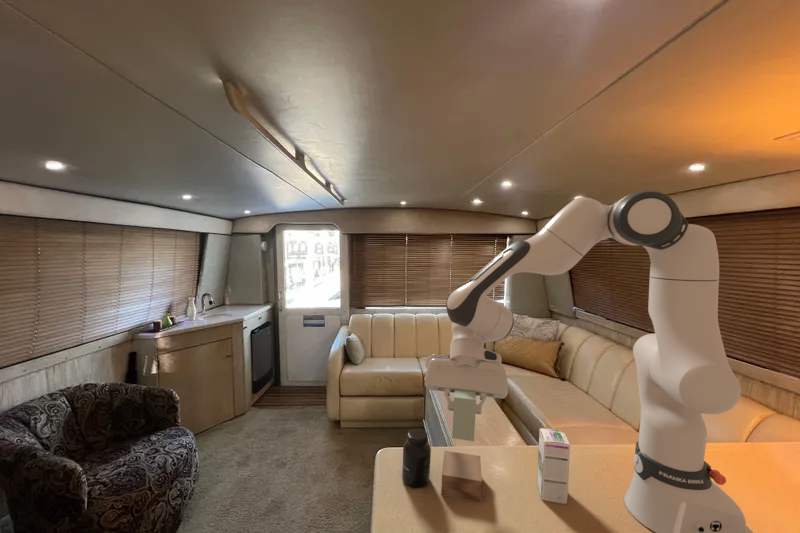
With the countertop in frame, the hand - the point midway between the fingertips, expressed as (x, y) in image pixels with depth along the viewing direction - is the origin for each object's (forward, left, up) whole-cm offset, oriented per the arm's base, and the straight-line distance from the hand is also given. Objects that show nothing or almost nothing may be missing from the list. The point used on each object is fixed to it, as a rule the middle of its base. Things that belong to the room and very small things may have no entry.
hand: (464, 411), depth 79 cm
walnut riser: (0, -1, -19) cm, 19 cm away
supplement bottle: (+11, 0, -19) cm, 22 cm away
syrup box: (-21, -3, -19) cm, 28 cm away
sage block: (0, -1, -6) cm, 6 cm away
